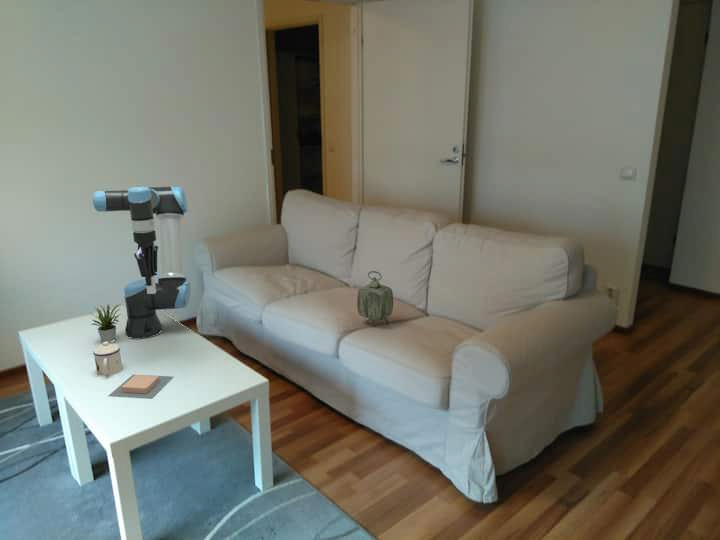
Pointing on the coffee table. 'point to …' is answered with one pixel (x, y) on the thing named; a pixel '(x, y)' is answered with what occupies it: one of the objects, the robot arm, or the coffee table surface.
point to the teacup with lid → (107, 359)
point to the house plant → (106, 324)
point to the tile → (140, 384)
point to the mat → (150, 395)
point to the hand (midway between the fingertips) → (151, 293)
